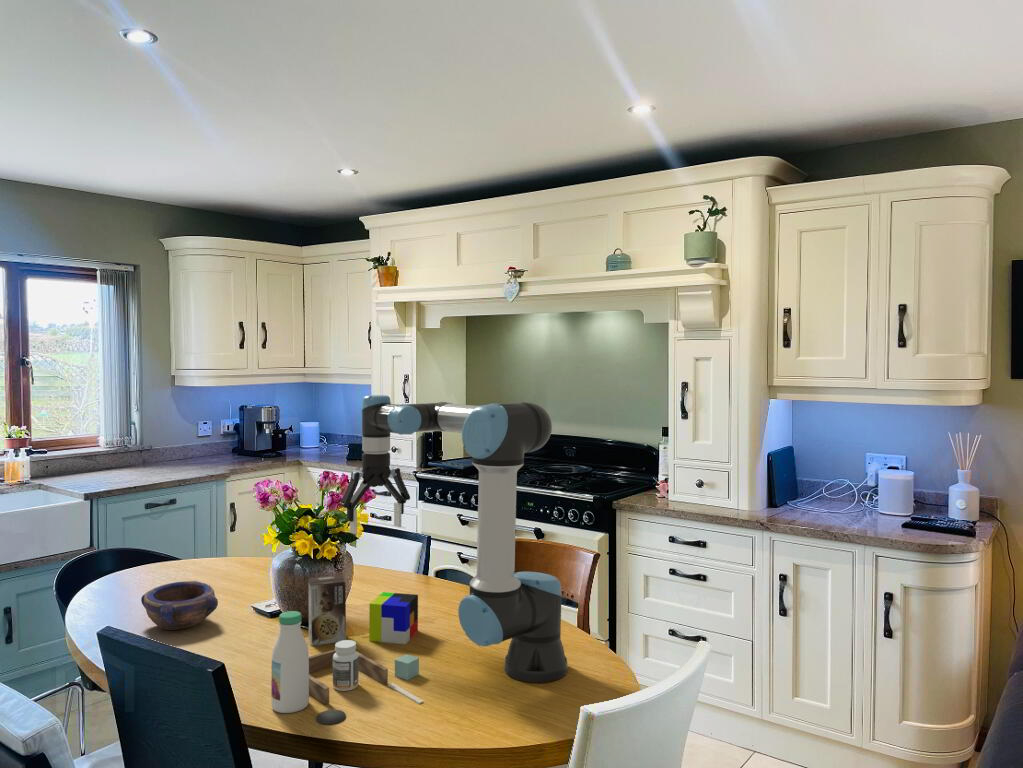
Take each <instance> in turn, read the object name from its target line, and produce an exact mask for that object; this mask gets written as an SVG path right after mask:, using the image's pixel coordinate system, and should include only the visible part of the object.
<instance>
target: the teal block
mask: <svg viewBox="0 0 1023 768" xmlns="http://www.w3.org/2000/svg"><path fill="white" fill-rule="evenodd" d="M419 674H420V658H419V657H417V656H413V655H410V654H407V653H406V654H403V655H402V656H399V657H398V658H395V659H394V677H396V678H400V679H403V680H406V681H409V680H411V679H412V678H415V677H416V676H419Z"/></svg>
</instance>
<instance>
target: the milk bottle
mask: <svg viewBox="0 0 1023 768" xmlns="http://www.w3.org/2000/svg"><path fill="white" fill-rule="evenodd" d="M302 618H303V617H302V613H301V612H300V611H297V610H288V611H284V612H281V613H280V614H279V617H278V623H279V624H278V625H279V627H280V628H279V633H278V636H277V637H276V640H275V642H274V644H273V647H272V654H271V677H270V678H271V681H270V682H271V685H270V686H271V688H270V689H271V692H270V693H271V695H270V697H271V700H270V701H271V707H272V710H273V711H274V712H276V713H280V714H292V713H293V714H294V713H296V712H300V711H302V710H304V709H306V707H307V706H308V705H309V703H310V694H309V675H310V673H309V657H310V656H309V647H308V643H307V641H306V639H305V637H304V635H303V634H304V633H303V632H302V628H301V624H302Z"/></svg>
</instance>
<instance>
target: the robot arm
mask: <svg viewBox="0 0 1023 768" xmlns="http://www.w3.org/2000/svg"><path fill="white" fill-rule="evenodd" d="M361 407H362V408H361V428H362V429H361V431H362V432H361V433H362V438H361V439H362V440H361V443H362V444H361V445H362V446H361V447H362V448H361V451H362V454H361V463H362V465H361V467H362V470H361V471H355V470H353V471H351V475H350V480H349V483H348V484H347V487H346V489H345V492H344V495H343V496H342V499H341V500H340V503H339V506H340V508H341V507H342V508H344V509H346V520H347V522H349V533H350V534H353V535H357V534H358V509H356V507H357V505H358V504H359V502H360V500H361V499H362V498H363V497H364V496H365V494H366V492H367V490H369V489H370V488H376V487H383V486H384V488H385V489H387V491H388V492H389V493H390V495H392V497H393V498H394V499H395V500H396V501H394V503H393V526H394V527H397V528H402V515H404V513H405V510H404V509H405V507H404V506H405V504H406V503H407V501H409V500H411V496H410V493H409V491H408V489H407V487H406V484H405V482H404V480H403V478H402V476H401V469H400V468H399V467H395V466H393V467H392V468H390V465H391V453H390V452H389V451H391V433H392V434H398V435H402V436H403V435H413V434H414V433H419V432H421V433H422V432H429V431H430V432H433V431H435V432H436V431H437V432H449V433H458V434H461V440H462V441H461V442H462V445H463V447H465V448H464V450H465V451H466V454H468V455H469V456H470V457H472V461H471V464H472V465H473V466H474V467H475V468H476V469H477V470H478V495H477V498H478V503H477V504H478V505H477V540H476V541H477V544H476V545H477V546H476V547H477V548H476V549H477V550H476V575H475V576H474V577H472V579H471V580H470V581H469V594H467V595H465V596H464V597H463V598H462V599H461V601H460V602H459V605H458V610H457V611H458V612H457V613H458V619H459V624H460V626H461V628H462V630H463V632H464V634H465V635H466V637H467V638H468V639H469V640H470V641H471V642H472V643H474V644H475V645H477V646H479V647H489V646H494V645H499V644H501V643H502V642H505V641H508V640H510V644H509V647H508V650H507V654H506V656H505V658H504V672H505V673H506V674H507V676H509V677H510V678H512V679H515V680H518V681H520V682H521V681H522V682H525V683H549V682H555V681H556V680H559V679H562V678H563V677H565V676H566V675H567V673H568V660H567V656H566V654H565V649H564V645H563V642H562V639H561V638H562V637H561V632H562V631H561V630H562V627H561V626H562V625H561V624H562V597H563V593H562V584H561V581H560V579H559V578H558V577H556V576H554V575H551V574H548V573H543V572H536V571H518V572H515V565H516V562H515V561H516V558H515V557H516V528H517V527H516V521H517V520H516V519H517V482H518V481H517V480H518V479H517V477H518V475H517V474H518V471H519V470H520V469H521V468H522V467H523V466H524V464H525V462H524V461H525V454H527V453H532V452H535V451H537V450H540V449H541V448H543V447H544V446H545V445H546V443H547V442H548V441H549V439H550V437H551V434H552V431H553V425H552V424H553V422H552V419H551V416H550V414H549V413H548V412H547V410H546V409H545V408H544V407H542V406H540V405H539V404H537V403H533V402H528V401H527V402H525V401H524V402H512V403H511V402H510V403H509V402H508V403H507V402H505V403H489V404H483V405H472V404H458V403H453V402H446V401H442V402H441V401H440V402H439V401H438V402H430V403H429V402H428V403H408V404H404V403H403V404H397V403H396V404H393V403H392V401H391V397H390V396H389V395H387V394H386V395H384V394H374V395H373V394H371V395H370V394H369V395H365V396H363V398H362V406H361ZM390 476H392V479H393V480H394V483H395V485H396V487H397V488H396V487H395V486H394V485H393V482H391V480H390V479H389V478H390ZM361 478H362V481H361V482H360V480H361ZM359 484H360V485H359ZM358 485H359V486H358ZM357 486H358V488H357Z"/></svg>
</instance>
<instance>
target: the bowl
mask: <svg viewBox="0 0 1023 768" xmlns="http://www.w3.org/2000/svg"><path fill="white" fill-rule="evenodd" d="M140 601H141V604H142V606H143V607H144V609H145V611H146V615H147V617H148V618H149V619H150V620H151V621H152V623H154V625H156V626H158V627H160V628H162V629H163V630H170V631H171V630H172V631H173V630H182V629H186V628H191V627H194V626H196V625H198V624H199V623H201V622H203V621H204V620H206V619H207V618H208V617H209V616H210V615H211V614H212V613H213V612H214V611H215V610H217V607H218V605H219V600H218V598H217V597H216V595H215V590H214V589H213V587H212V586H211V585H209V584H207V583H205V582H201V581H198V580H188V581H187V580H186V581H185V580H184V581H175V582H170V583H165V584H161V585H159V586H157V587H154V588H152V589H150V590H148V591H147V592H146V593H144V594H143V595H141V598H140Z"/></svg>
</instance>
